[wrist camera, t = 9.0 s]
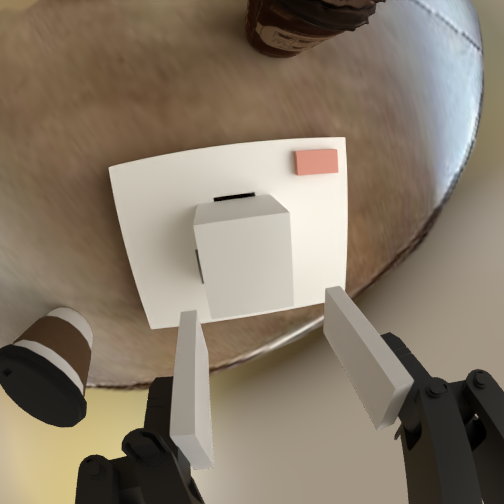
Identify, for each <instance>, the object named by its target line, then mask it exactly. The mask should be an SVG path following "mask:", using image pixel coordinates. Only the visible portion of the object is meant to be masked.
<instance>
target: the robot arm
mask: <svg viewBox="0 0 504 504" xmlns="http://www.w3.org/2000/svg"><path fill="white" fill-rule="evenodd" d="M323 333H324V334H325V336H326V338H327V340H328V341H329V343H330V345H331V347H332V349H333V350H334V352H335V354H336V356H337V358H338V359H339V361H340V363H341V365H342V367H343V368H344V370H345V372H346V374H347V376H348V378H349V379H350V381H351V383H352V385H353V387H354V389H355V390H356V392H357V394H358V396H359V398H360V400H361V402H362V403H363V405H364V407H365V409H366V411H367V413H368V414H369V416H370V418H371V420H372V422H373V424H374V426H375V428H376V430H380V429H382V428H385V427H387V426H389V425H392V424H394V422H395V420H396V418H397V416H398V417H399V418H400V420H401V422H402V423H401V425H400V427H399V428H398V430H397V432H396V434H395V438H394V439H395V440H397V438H398V437H399V435H401V442H402V447H403V455H404V462H405V470H406V478H407V488H408V500H409V504H482V500H483V502H484V504H504V392H503V390H502V389H501V388H500V387H499V385H498V384H497V382H496V381H495V380H494V379H493V378H492V376H491V375H490V374H489V373H488V372H486V371H484V370H480V369H476V370H473V371H471V372H470V373H469V374H468V376H467V378H466V380H463V381H458V382H452V383H447V382H446V381H444V380H443V379H441V378H438V377H431V376H430V375H429V374H428V372H427V371H426V370H425V368H424V367H423V366H422V365H421V363H420V362H419V361H418V360H417V359H416V357H415V356H414V355H413V354H411V351H410V350H409V349H408V348H406V345H405V344H404V343H403V342H402V340H401V339H400V338H398V337H397V336H395V335H394V334H392V333H390V332H389V333H386V334H383V335H379V334H378V332H377V331H376V330H375V329H374V327H373V326H372V325H371V324H370V322H369V321H368V320H367V318H366V317H365V316H364V315H363V314H362V312H361V311H360V310H359V309H358V307H357V306H356V305H355V304H354V302H353V301H352V300H351V299H350V298H349V296H348V295H347V294H346V293H345V291H344V290H343V289H342V288H341V287H340V286H335V287H330V288H325V309H324V331H323ZM210 411H211V410H210V391H209V367H208V351H207V347H206V344H205V340H204V336H203V332H202V328H201V324H200V320H199V316H198V312H197V310H191V311H184V312H181V314H180V322H179V331H178V339H177V348H176V358H175V368H174V376H171V377H157V378H155V380H154V381H153V383H152V384H151V386H150V387H149V393H148V400H147V409H146V414H145V421H144V428H138V429H135V430H133V431H131V432H129V433H128V434H127V435H126V436H125V437H124V439H123V441H122V451H123V452H124V453H125V454H126V455H127V456H125V457H121V458H117V459H112V460H108V459H106V458H105V457H103V456H101V455H90V456H88V457H86V458H85V459H84V460H83V461H82V462H81V464H80V467H79V471H78V479H77V488H76V499H75V504H205V503H204V501H203V499H202V497H201V495H200V493H199V490H198V488H197V486H196V484H195V482H194V479H193V478H192V477H191V471H190V470H191V469H190V465H191V467H192V468H193V469H194V470H197V469H214V468H215V466H214V454H213V442H212V428H211V412H210ZM475 414H477V416H478V417H479V418H477V417H476V416H475Z"/></svg>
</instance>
